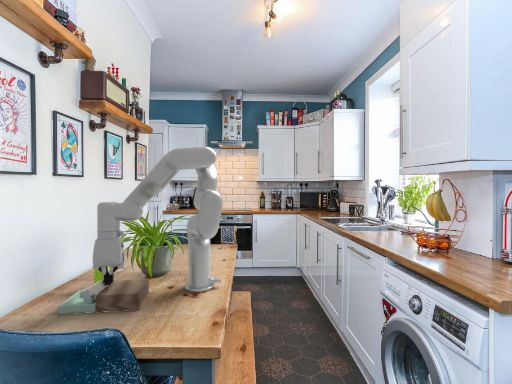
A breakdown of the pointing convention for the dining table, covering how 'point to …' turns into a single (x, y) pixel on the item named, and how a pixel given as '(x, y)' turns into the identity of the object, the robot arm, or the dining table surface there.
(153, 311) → the dining table surface
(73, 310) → the box
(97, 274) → the soap dispenser
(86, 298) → the pale blue square block
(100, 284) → the cream square block
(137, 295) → the brown wooden block
